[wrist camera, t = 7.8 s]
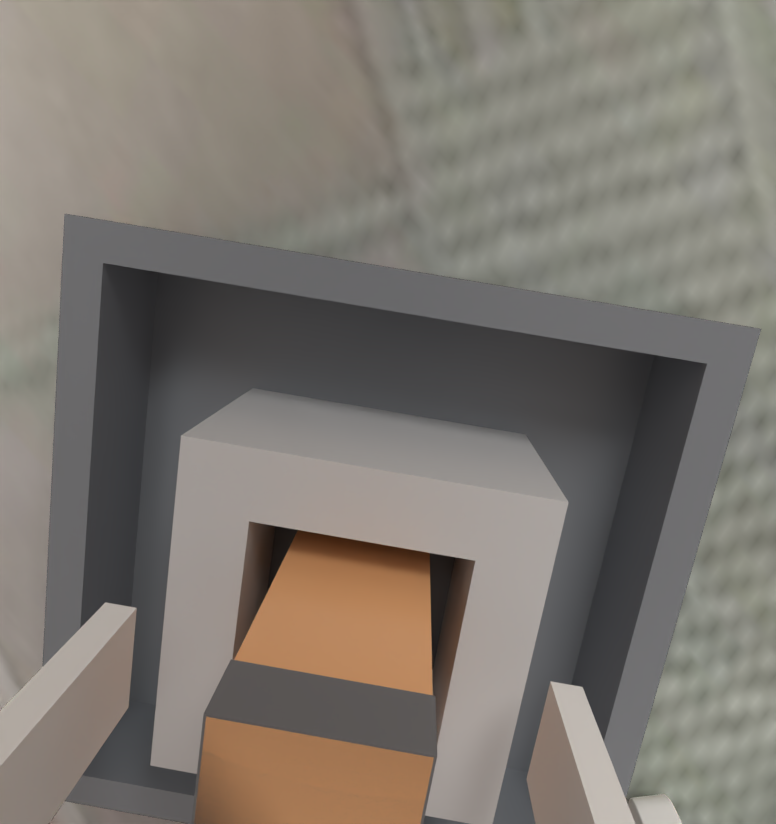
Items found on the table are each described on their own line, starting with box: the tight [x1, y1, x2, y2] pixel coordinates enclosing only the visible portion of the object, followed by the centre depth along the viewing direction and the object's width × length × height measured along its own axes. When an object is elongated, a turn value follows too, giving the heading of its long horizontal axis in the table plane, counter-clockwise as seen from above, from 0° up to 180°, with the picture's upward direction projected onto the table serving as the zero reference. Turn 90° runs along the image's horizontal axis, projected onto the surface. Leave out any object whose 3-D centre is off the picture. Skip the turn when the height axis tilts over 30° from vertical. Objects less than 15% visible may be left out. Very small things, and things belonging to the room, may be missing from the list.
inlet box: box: [43, 214, 761, 824], centre depth 21 cm, size 20×20×8 cm
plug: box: [191, 530, 437, 824], centre depth 16 cm, size 4×4×10 cm
